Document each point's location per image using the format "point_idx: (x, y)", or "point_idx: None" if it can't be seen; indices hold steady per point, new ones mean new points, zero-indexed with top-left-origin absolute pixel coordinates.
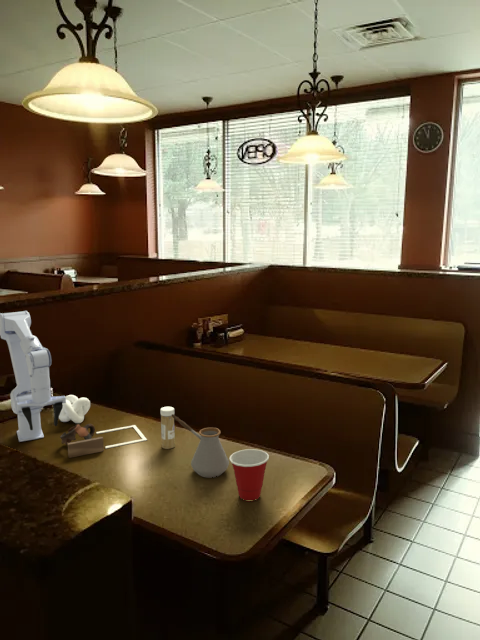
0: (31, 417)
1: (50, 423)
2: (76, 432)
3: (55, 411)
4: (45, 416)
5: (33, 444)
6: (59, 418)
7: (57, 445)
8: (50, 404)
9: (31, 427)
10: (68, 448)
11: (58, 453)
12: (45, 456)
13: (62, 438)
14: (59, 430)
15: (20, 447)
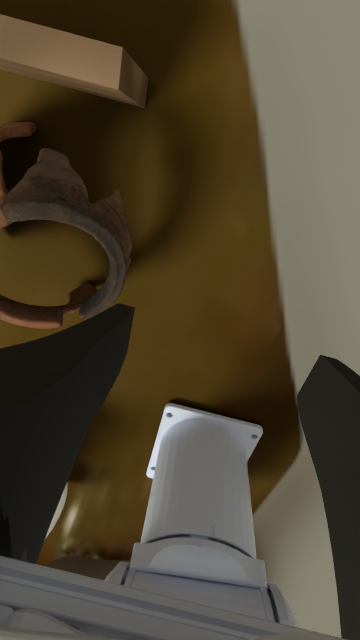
0: (204, 519)
1: (104, 480)
2: (4, 189)
3: (55, 378)
4: (103, 523)
5: (228, 375)
6: (66, 485)
7: (145, 297)
8: (66, 577)
9: (344, 369)
10: (131, 58)
11: (176, 199)
12: (248, 211)
13: (119, 244)
14: None
15: (284, 384)
